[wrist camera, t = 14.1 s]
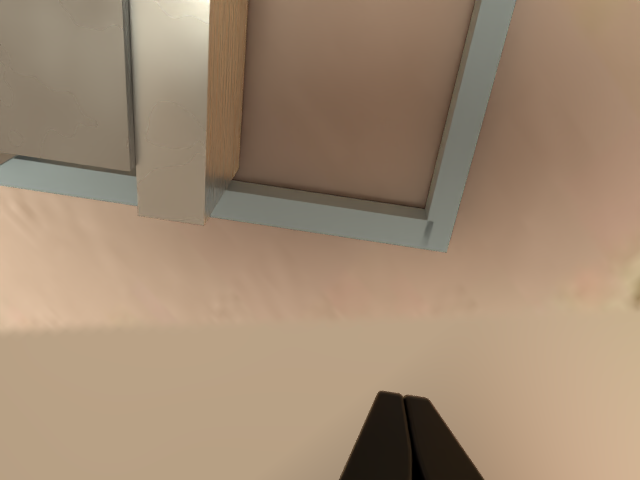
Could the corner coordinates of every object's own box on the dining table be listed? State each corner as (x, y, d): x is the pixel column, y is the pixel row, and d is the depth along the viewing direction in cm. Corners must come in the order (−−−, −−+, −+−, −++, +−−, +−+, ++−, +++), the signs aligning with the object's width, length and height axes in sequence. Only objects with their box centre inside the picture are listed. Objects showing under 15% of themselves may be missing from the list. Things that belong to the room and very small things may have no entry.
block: (54, -37, 18) (-65, -32, 13) (189, -17, 18) (121, -5, 13) (68, 99, 20) (-29, 147, 15) (188, 117, 20) (130, 171, 15)
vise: (535, -100, 16) (598, -119, 11) (443, 240, 21) (462, 315, 17) (-78, -186, 16) (-248, -239, 12) (-12, 171, 21) (-110, 228, 17)
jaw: (252, -69, 17) (211, -76, 12) (238, 168, 20) (204, 225, 16) (187, -79, 17) (125, -89, 12) (186, 160, 20) (137, 215, 16)
